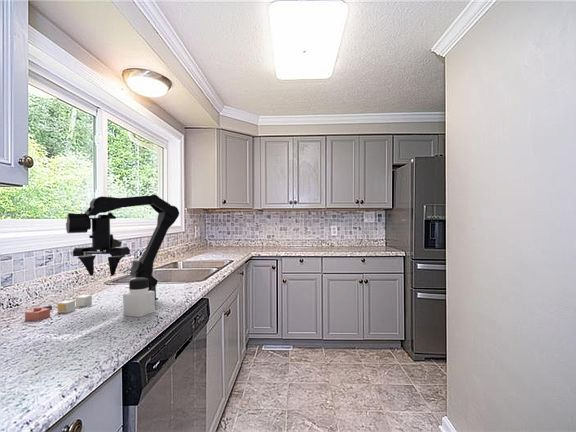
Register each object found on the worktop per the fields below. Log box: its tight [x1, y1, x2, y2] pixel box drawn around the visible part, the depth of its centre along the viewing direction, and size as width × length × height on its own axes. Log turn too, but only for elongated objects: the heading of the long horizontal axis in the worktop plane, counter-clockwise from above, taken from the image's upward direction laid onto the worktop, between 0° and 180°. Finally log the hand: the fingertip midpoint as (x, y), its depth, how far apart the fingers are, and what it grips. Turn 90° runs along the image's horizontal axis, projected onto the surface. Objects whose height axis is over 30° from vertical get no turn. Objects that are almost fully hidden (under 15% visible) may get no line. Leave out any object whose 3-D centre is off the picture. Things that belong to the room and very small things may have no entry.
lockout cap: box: [24, 306, 51, 322], centre depth 107 cm, size 4×4×5 cm
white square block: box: [75, 294, 93, 307], centre depth 123 cm, size 4×4×3 cm
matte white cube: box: [56, 299, 76, 314], centre depth 115 cm, size 4×4×3 cm
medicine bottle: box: [122, 277, 156, 318], centre depth 115 cm, size 7×7×12 cm
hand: (102, 275), depth 122 cm, fingers open, 8 cm apart
